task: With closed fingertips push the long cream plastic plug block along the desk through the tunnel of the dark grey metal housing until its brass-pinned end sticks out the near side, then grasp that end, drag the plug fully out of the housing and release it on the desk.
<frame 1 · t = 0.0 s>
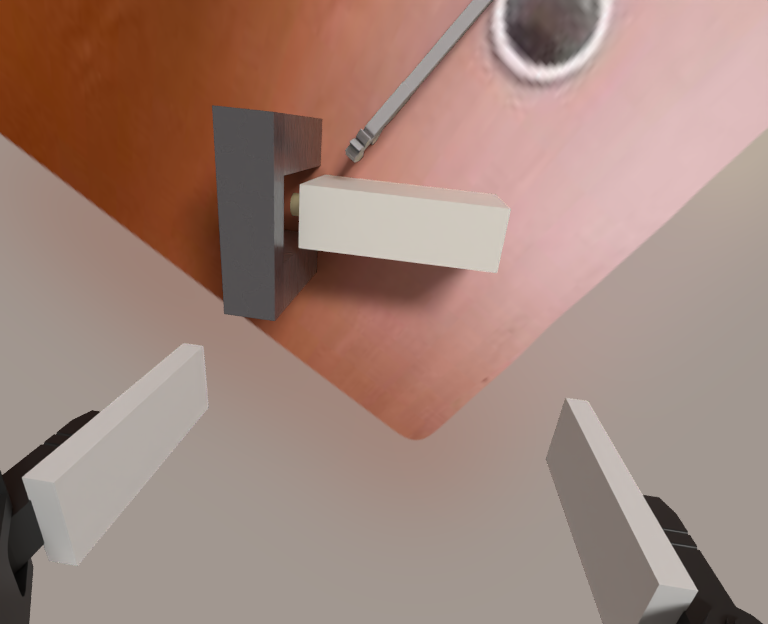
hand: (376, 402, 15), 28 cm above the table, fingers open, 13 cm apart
caliper: (434, 62, 36), on the table
housing: (299, 198, 41), on the table
plug: (406, 211, 40), on the table
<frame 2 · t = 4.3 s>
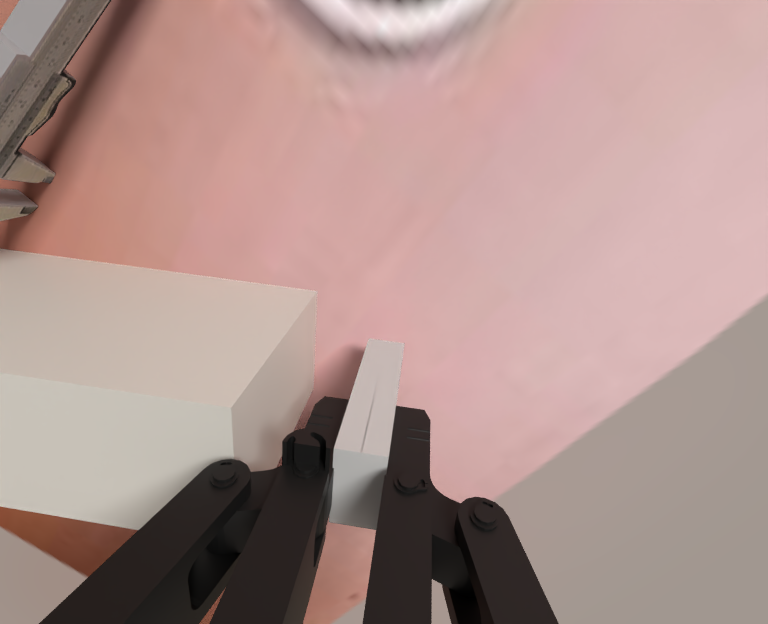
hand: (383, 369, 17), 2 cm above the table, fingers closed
plug: (148, 318, 20), on the table, touching gripper
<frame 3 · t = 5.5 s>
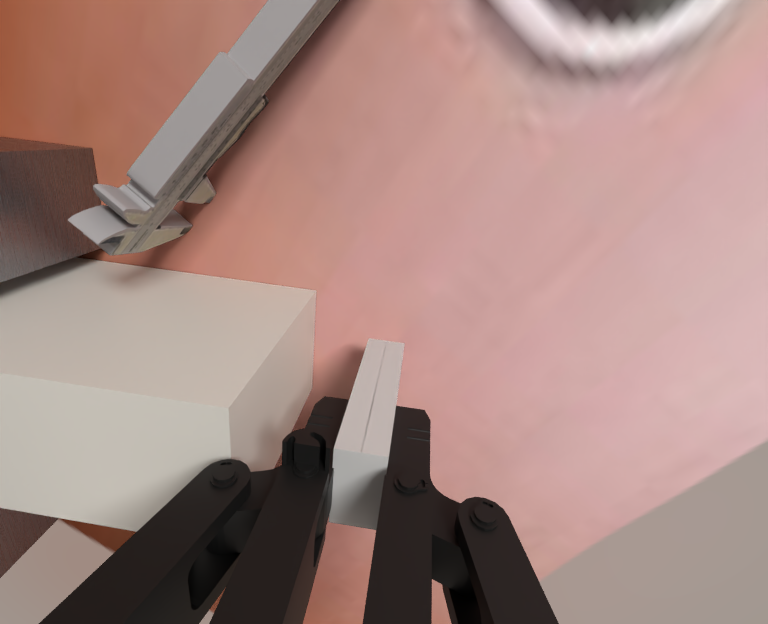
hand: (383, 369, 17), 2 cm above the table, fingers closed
caliper: (334, 11, 14), on the table
housing: (77, 307, 20), on the table
plug: (145, 317, 19), on the table, touching gripper
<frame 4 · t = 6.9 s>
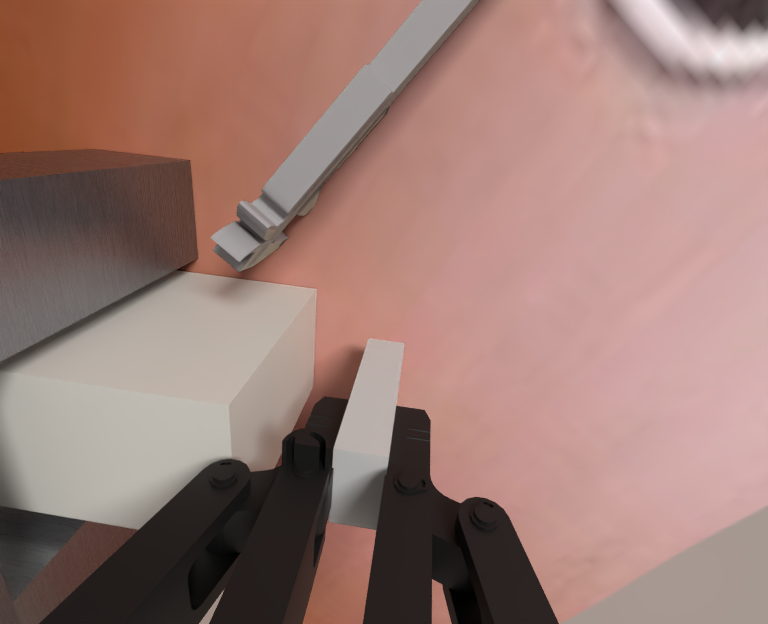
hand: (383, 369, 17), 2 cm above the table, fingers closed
caliper: (450, 20, 14), on the table
housing: (161, 320, 20), on the table
plug: (146, 316, 20), on the table, touching gripper
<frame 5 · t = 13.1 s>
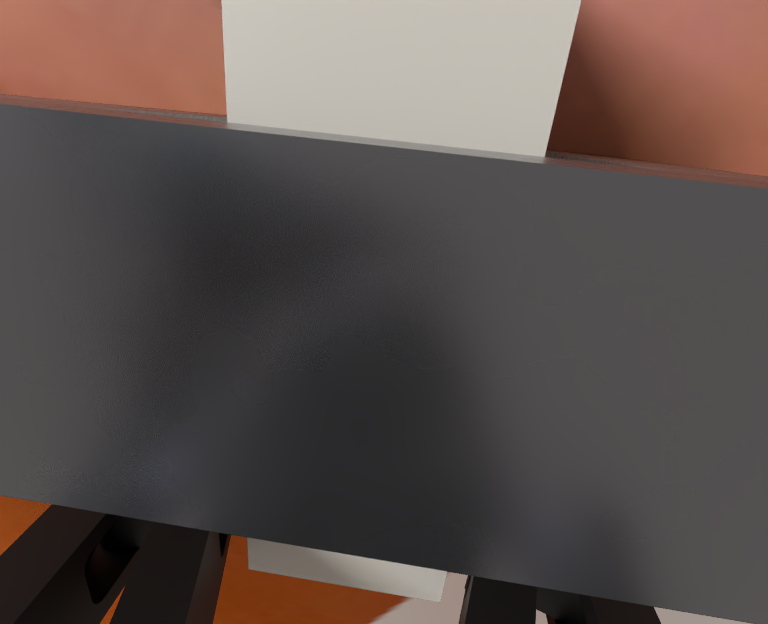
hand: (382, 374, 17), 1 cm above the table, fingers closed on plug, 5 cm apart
housing: (402, 195, 15), on the table
plug: (401, 214, 15), on the table, touching gripper
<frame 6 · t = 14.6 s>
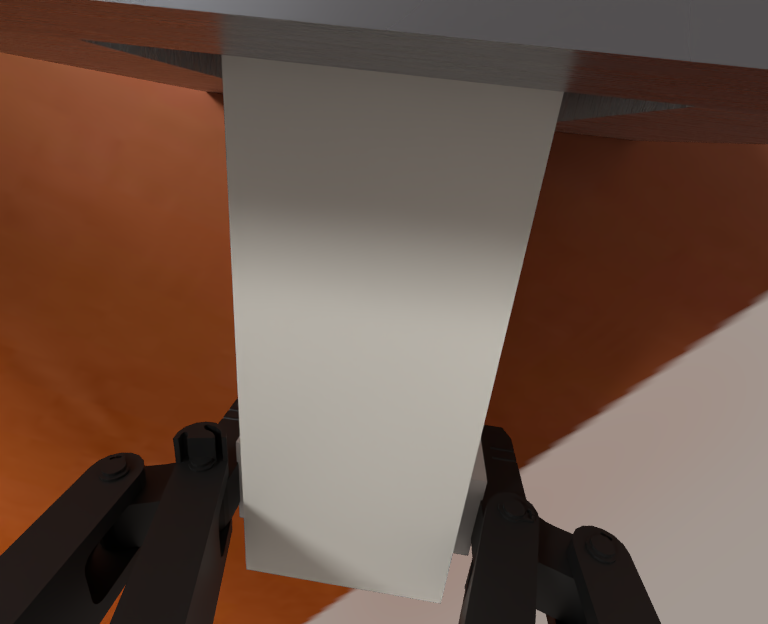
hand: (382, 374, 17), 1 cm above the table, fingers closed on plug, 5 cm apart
housing: (423, 45, 13), on the table
plug: (402, 210, 15), on the table, touching gripper
when the fingers open (1 cm above the table, at t = 16.3 s): plug stays where it is, on the table.
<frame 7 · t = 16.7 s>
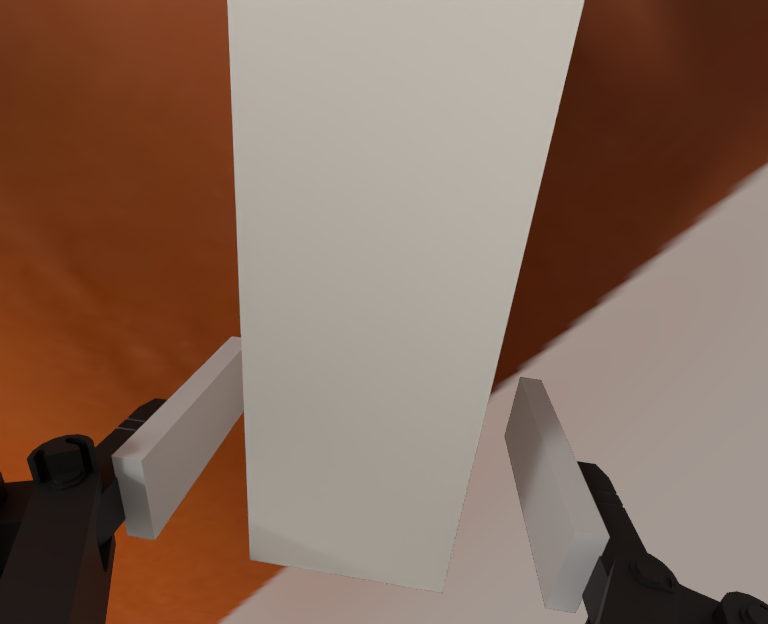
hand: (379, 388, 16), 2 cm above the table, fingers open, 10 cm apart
plug: (403, 207, 15), on the table
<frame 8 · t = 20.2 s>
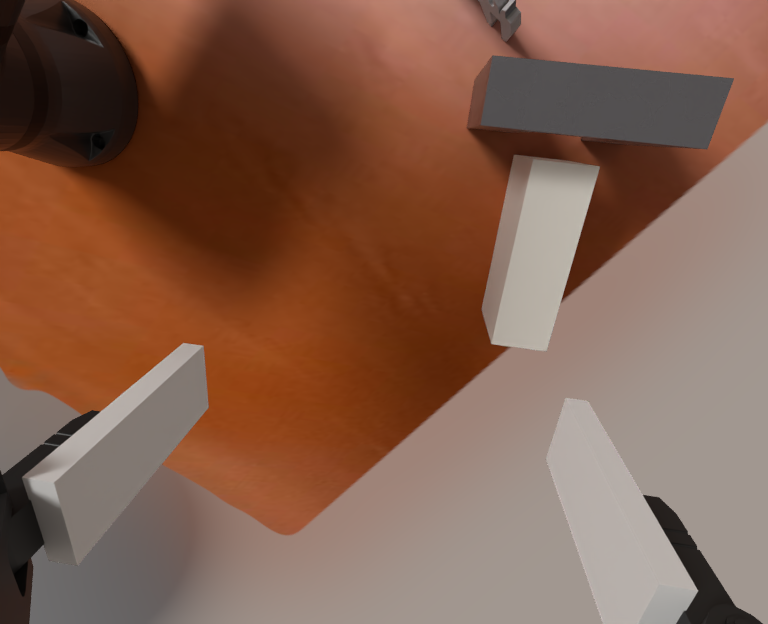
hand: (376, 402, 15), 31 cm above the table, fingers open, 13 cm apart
housing: (550, 112, 38), on the table
plug: (520, 240, 43), on the table
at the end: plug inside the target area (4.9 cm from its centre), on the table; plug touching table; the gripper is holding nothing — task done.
